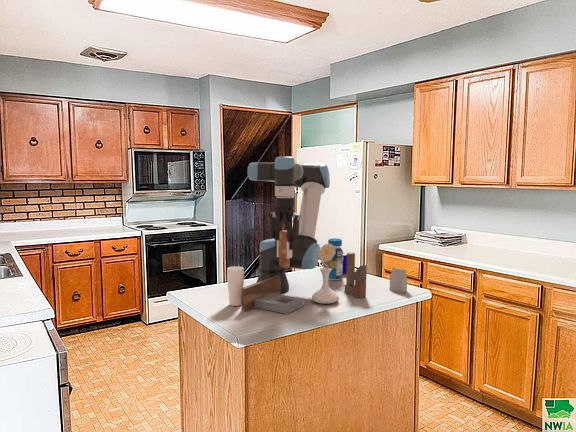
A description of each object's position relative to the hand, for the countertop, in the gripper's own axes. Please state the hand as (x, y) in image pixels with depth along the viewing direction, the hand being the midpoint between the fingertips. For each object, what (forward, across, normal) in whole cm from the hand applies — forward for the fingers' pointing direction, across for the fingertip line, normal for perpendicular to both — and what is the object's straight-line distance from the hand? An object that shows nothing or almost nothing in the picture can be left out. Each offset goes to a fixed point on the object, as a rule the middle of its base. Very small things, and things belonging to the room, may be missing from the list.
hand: (284, 257), depth 174 cm
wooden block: (+21, +15, +33) cm, 42 cm away
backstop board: (+20, -11, 0) cm, 23 cm away
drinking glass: (+21, -19, -7) cm, 29 cm away
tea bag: (+21, +28, +51) cm, 62 cm away
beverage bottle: (+21, -6, +54) cm, 58 cm away
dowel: (+4, 0, 0) cm, 4 cm away
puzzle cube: (+21, -12, +67) cm, 71 cm away
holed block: (+20, -2, 0) cm, 21 cm away
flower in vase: (+21, +10, +16) cm, 28 cm away
